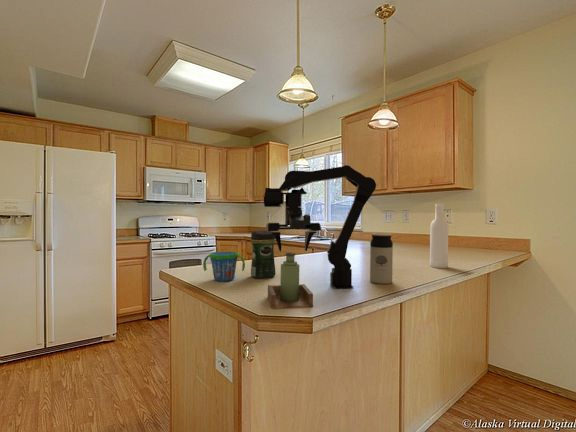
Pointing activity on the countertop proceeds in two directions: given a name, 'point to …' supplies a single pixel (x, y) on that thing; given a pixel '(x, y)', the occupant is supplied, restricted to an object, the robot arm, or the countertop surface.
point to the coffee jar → (262, 254)
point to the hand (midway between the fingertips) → (293, 251)
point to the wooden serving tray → (303, 301)
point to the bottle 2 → (439, 239)
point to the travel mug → (381, 258)
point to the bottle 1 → (289, 279)
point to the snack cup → (224, 265)
